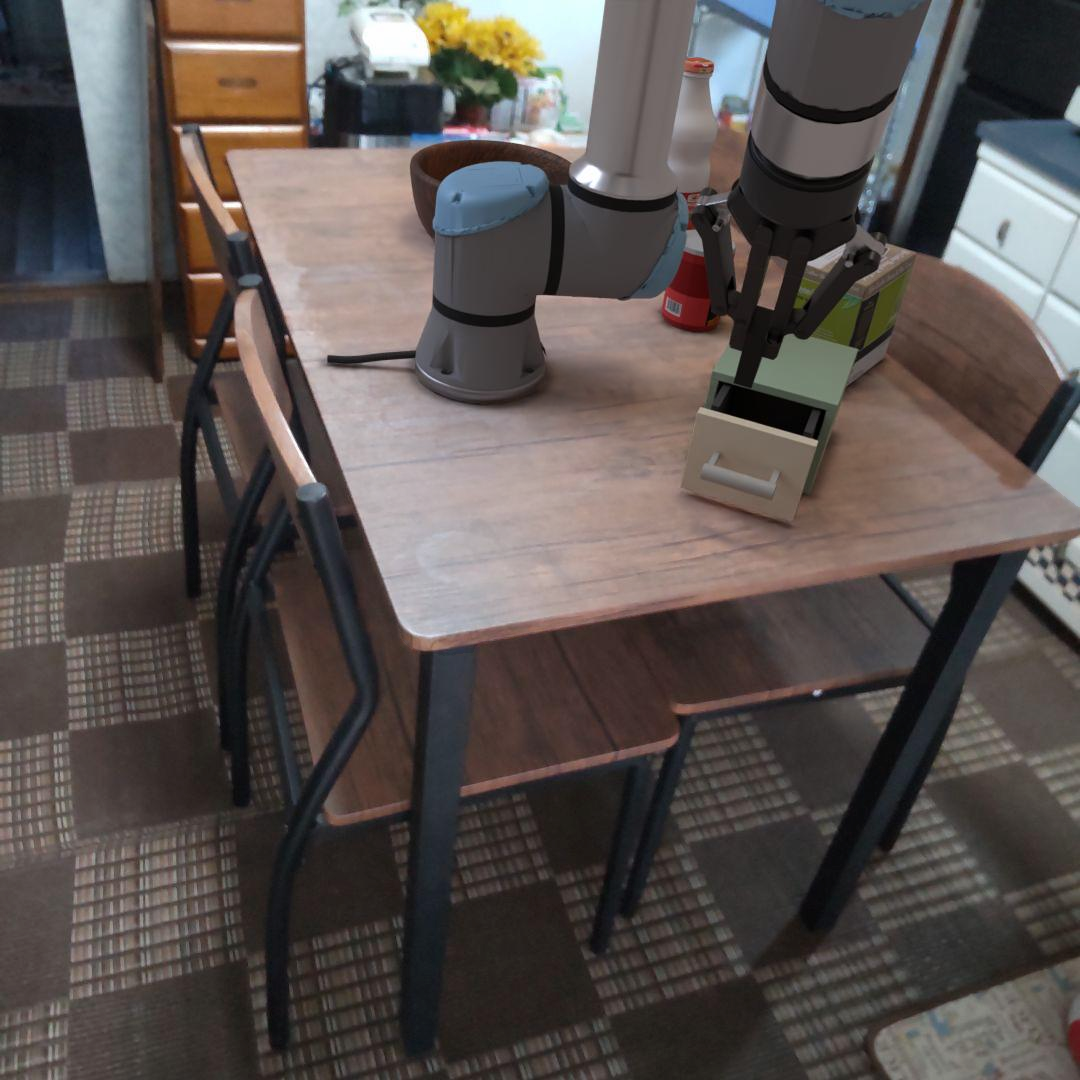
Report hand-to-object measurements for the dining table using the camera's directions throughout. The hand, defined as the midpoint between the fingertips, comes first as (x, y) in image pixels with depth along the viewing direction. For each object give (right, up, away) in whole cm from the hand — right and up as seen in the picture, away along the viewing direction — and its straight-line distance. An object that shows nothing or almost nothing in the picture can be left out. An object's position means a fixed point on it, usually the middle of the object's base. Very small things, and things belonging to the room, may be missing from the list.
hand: (747, 372), depth 80 cm
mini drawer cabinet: (+8, -3, +31) cm, 32 cm away
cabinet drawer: (+4, -8, +23) cm, 24 cm away
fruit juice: (+1, +28, +69) cm, 75 cm away
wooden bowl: (-24, +33, +71) cm, 82 cm away
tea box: (+20, +9, +48) cm, 53 cm away
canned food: (+4, +16, +55) cm, 57 cm away
